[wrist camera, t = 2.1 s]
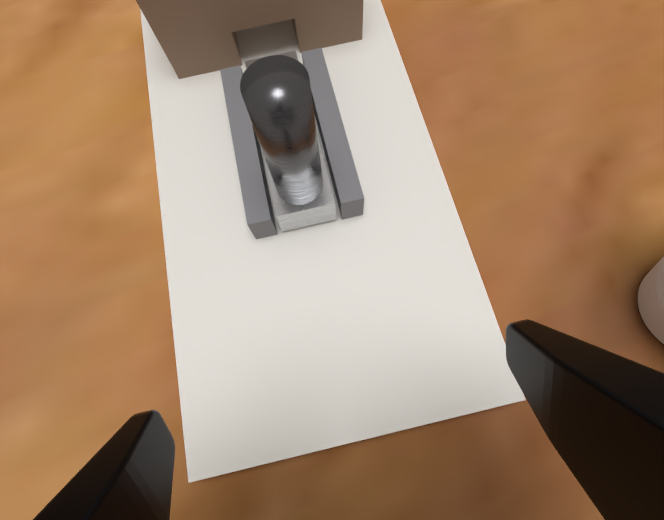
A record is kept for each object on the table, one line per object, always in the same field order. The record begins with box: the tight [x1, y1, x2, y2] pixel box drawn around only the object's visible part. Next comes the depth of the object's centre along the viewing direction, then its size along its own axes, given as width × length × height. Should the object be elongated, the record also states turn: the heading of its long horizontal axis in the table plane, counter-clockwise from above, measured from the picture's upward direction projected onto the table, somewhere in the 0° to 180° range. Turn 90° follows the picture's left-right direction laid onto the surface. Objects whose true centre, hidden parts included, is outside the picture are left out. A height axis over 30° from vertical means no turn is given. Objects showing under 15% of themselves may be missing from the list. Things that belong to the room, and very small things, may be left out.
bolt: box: [240, 50, 336, 232], centre depth 19 cm, size 10×3×9 cm, turn 13°
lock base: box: [136, 0, 525, 483], centre depth 20 cm, size 30×16×10 cm, turn 13°
